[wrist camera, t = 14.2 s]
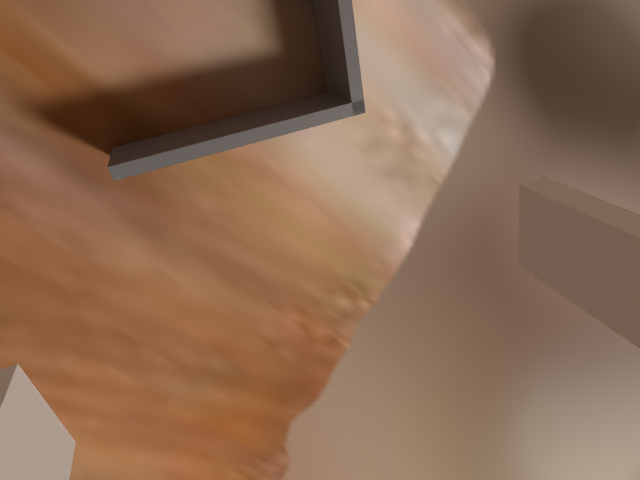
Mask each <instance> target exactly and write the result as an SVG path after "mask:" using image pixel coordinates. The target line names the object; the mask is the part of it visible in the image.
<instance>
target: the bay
mask: <svg viewBox="0 0 640 480" xmlns="http://www.w3.org/2000/svg"><path fill="white" fill-rule="evenodd" d="M312 3H313V9H314V16H315V22H316V28H317V34H318V41H319V47H320V53H321V59H322V66H323V72H324V78H325V84H326V91H327V93H323V94H319V95H315V96H312V97H308V98H304V99H300V100H296V101H292V102H288V103H284V104H280V105H276V106H272V107H268V108H264V109H261V110H257V111H253V112H249V113H245V114H241V115H237V116H233V117H229V118H225V119H221V120H217V121H214V122H210V123H206V124H202V125H198V126H194V127H190V128H186V129H182V130H178V131H174V132H170V133H167V134H163V135H159V136H155V137H151V138H147V139H143V140H139V141H135V142H131V143H127V144H123V145H120V146H116V147H112V152H111V156H110V160H109V164H108V169H109V171H110V174H111V176H112V178H113V181H115V180H118V179H122V178H126V177H130V176H133V175H137V174H141V173H144V172H148V171H152V170H155V169H159V168H163V167H166V166H170V165H174V164H178V163H181V162H185V161H189V160H192V159H196V158H200V157H203V156H207V155H211V154H214V153H218V152H222V151H226V150H229V149H233V148H237V147H240V146H244V145H248V144H251V143H255V142H259V141H262V140H266V139H270V138H274V137H277V136H281V135H285V134H288V133H292V132H296V131H299V130H303V129H307V128H310V127H314V126H318V125H321V124H325V123H329V122H333V121H336V120H340V119H344V118H347V117H351V116H355V115H358V114H362V113H365V106H364V97H363V89H362V81H361V73H360V64H359V56H358V48H357V40H356V31H355V23H354V15H353V6H352V0H312Z"/></svg>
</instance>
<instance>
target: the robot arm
mask: <svg viewBox="0 0 640 480" xmlns="http://www.w3.org/2000/svg"><path fill="white" fill-rule="evenodd" d="M519 201H520V203H519V240H518V267H519V268H521V269H522V270H524V271H525V272H527V273H528V274H530V275H531V276H533V277H534V278H536V279H537V280H539V281H541V282H542V283H543V284H545V285H546V286H548V287H549V288H551V289H552V290H554V291H555V292H557V293H558V294H560V295H561V296H563V297H564V298H566V299H567V300H569V301H570V302H572V303H573V304H575V305H576V306H578V307H579V308H580V309H582V310H583V311H585V312H586V313H588V314H590V315H591V316H592V317H594V318H595V319H597V320H599V321H600V322H602V323H603V324H604V325H606V326H607V327H609V328H610V329H612V330H613V331H615V332H616V333H618V334H619V335H621V336H622V337H624V338H625V339H627V340H628V341H630V342H631V343H633V344H634V345H636V346H637V347H639V348H640V215H639V214H637V213H634V212H632V211H629V210H627V209H624V208H622V207H619V206H617V205H614V204H612V203H609V202H607V201H604V200H601V199H599V198H596V197H594V196H591V195H589V194H586V193H584V192H581V191H579V190H576V189H574V188H571V187H569V186H566V185H564V184H561V183H559V182H556V181H553V180H551V179H549V178H546V177H544V176H542V177H539V178H537V179H534V180H531V181H528V182H525V183H523V184H520V200H519ZM75 443H76V442H75V441H74V439H73V438H72V437H71V435H70V434H69V433H68V431H67V430H66V429H65V427H64V426H63V424H62V423H61V422H60V420H59V419H58V418H57V416H56V415H55V414H54V412H53V411H52V410H51V408H50V407H49V405H48V404H47V403H46V401H45V400H44V399H43V397H42V396H41V395H40V393H39V392H38V391H37V389H36V388H35V386H34V385H33V384H32V382H31V381H30V380H29V378H28V377H27V376H26V374H25V373H24V372H23V370H22V369H21V367H20V366H19V365H18V364H15V365H12V366H10V367H7V368H4V369H1V370H0V480H69V477H70V472H71V466H72V460H73V455H74V449H75Z"/></svg>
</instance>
